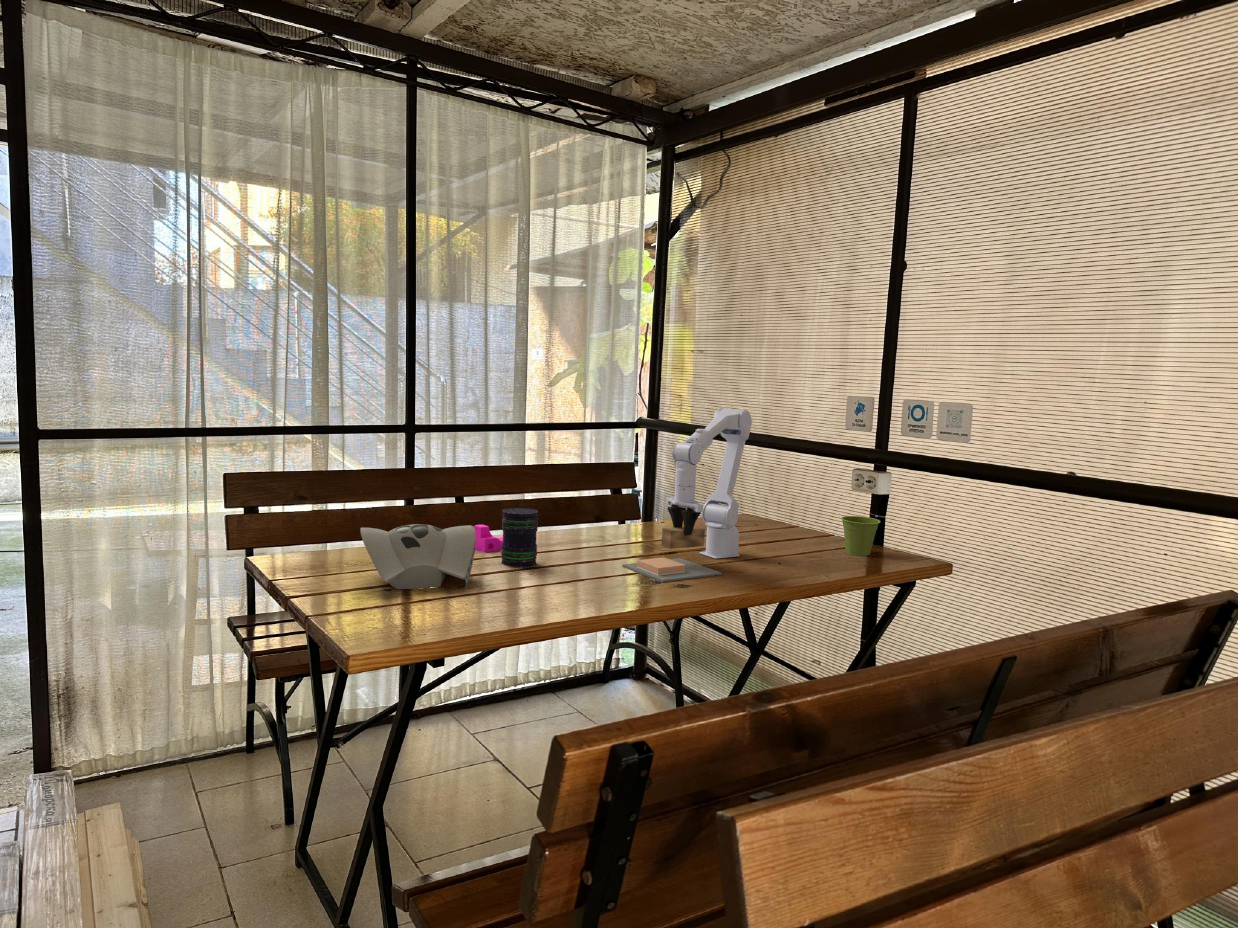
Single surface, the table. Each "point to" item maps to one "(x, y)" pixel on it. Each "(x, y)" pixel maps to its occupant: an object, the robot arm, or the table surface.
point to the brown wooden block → (682, 538)
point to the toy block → (486, 539)
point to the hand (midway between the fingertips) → (682, 533)
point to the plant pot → (859, 534)
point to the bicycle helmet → (422, 555)
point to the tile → (661, 566)
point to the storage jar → (519, 537)
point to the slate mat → (690, 573)
